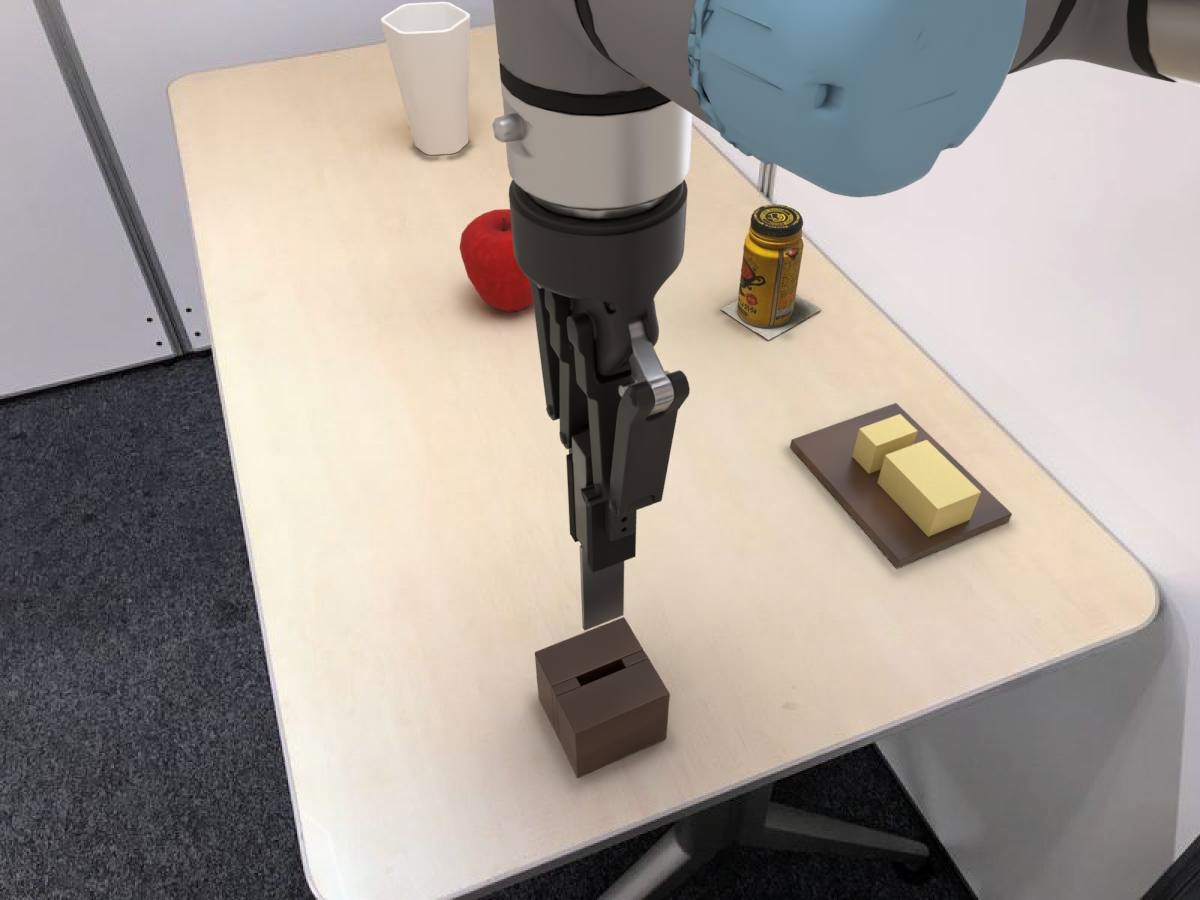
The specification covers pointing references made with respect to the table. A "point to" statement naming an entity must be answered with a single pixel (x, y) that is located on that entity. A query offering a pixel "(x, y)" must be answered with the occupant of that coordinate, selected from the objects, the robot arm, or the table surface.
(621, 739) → the knife block
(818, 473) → the butter board
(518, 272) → the apple
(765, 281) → the condiment
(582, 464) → the butter knife
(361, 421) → the table surface
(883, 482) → the butter block
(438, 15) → the cup
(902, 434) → the butter slice
